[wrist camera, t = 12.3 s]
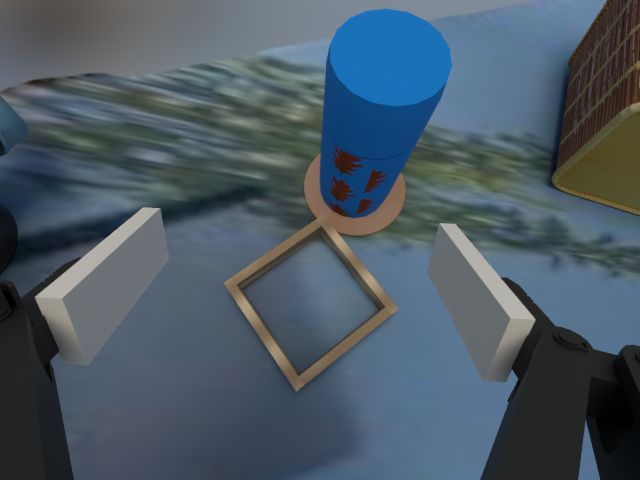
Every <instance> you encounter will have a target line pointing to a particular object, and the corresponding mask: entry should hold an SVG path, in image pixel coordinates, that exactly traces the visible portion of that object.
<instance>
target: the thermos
mask: <svg viewBox="0 0 640 480" xmlns="http://www.w3.org/2000/svg"><path fill="white" fill-rule="evenodd" d="M451 67H452V62H451V55H450V48H449V47H448V45H447V43H446V42H445V40H444V38H443V37H442V35H441V33H440V32H439V31H438V30H436V29H435V28H434V27H433V26H432V25H430V24H429V23H428V22H427V21H426V20H424V19H421V18H419V17H417V16H414V15H413V14H410V13H408V12H404V11H397V10H391V9H381V10H371V11H366V12H364V13H361V14H359V15H356V16H354V17H351V18H350V19H349V20H347V22H345V23H344V24H343V25H342V26H341V27H340V28H338V29H337V31H336V33H335V35H334V37H333V40H332V42H331V44H330V48H329V52H328V57H327V62H326V78H325V94H324V110H323V126H322V142H321V158H320V192H321V195H322V197H323V200H324V202H325V203H326V204H327V205H328V207H329V208H330V209H331V210H332V211H334V212H336V213H338V214H339V215H341V216H345V217H350V218H359V217H365V216H367V215H369V214H371V213H373V212H375V211H376V210H377V209H378V208H379V206H380V205H381V204H382V203H383V202H384V200H385V199H386V197H387V196H388V194H389V193H390V191H391V189H392V187H393V186H394V184H395V182H396V180H397V178H398V176H399V175H400V173H401V171H402V169H403V167H404V165H405V163H406V162H407V160H408V158H409V156H410V154H411V152H412V150H413V149H414V147H415V145H416V143H417V141H418V139H419V138H420V136H421V134H422V132H423V130H424V128H425V126H426V125H427V123H428V121H429V119H430V117H431V115H432V114H433V112H434V110H435V108H436V106H437V104H438V102H439V101H440V99H441V97H442V94H443V91H444V88H445V85H446V83H447V80H448V76H449V73H450V70H451Z"/></svg>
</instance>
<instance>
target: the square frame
mask: <svg viewBox="0 0 640 480" xmlns="http://www.w3.org/2000/svg"><path fill="white" fill-rule="evenodd" d="M319 235H321V236H322V237H323V238H324V240H325V241H326V242H327V243H328V245H329V246H330V247H331V249H332V250H333V251H334V252H335V254H336V255H337V256H338V258H339V259H340V260H341V261H342V263H343V264H344V265H345V267H346V268H347V269H348V270H349V272H350V273H351V274H352V275H353V277H354V278H355V279H356V281H357V282H358V283H359V284H360V286H361V287H362V288H363V290H364V291H365V292H366V293H367V295H368V296H369V297H370V299H371V300H372V301H373V302H374V304H375V305H376V306H377V307H378V309H379V311H378V312H377V313H375V314H374V315H373V316H371V317H370V318H369V319H368V320H366V321H365V322H364V323H363V324H361V325H360V326H359V327H358V328H356V329H355V330H354V331H353V332H351V333H350V334H349V335H348V336H346V337H345V338H344V339H343V340H341V341H340V342H339V343H338V344H336V345H335V346H334V347H332V348H331V349H330V350H329V351H327V352H326V353H325V354H324V355H322V356H321V357H320V358H319V359H317V360H316V361H315V362H314V363H312V364H311V365H310V366H309V367H307V368H306V369H305V370H304V371H302V372H301V373H300V374H299V372H298V371H297V369H296V368H295V366H294V365H293V363H292V362H291V360H290V359H289V357H288V356H287V355H286V353H285V352H284V350H283V349H282V347H281V346H280V344H279V343H278V341H277V340H276V338H275V337H274V335H273V334H272V333H271V331H270V330H269V328H268V327H267V325H266V324H265V322H264V321H263V319H262V318H261V316H260V315H259V313H258V312H257V311H256V309H255V308H254V306H253V305H252V303H251V302H250V300H249V299H248V297H247V296H246V294H245V293H244V291H243V290H242V289H244V288H245V287H247V286H248V285H250V284H251V283H252V282H254V281H255V280H257V279H258V278H260V277H261V276H262V275H264V274H265V273H267V272H268V271H269V270H271V269H272V268H274V267H275V266H277V265H278V264H279V263H281V262H282V261H284V260H285V259H287V258H288V257H289V256H291V255H292V254H294V253H295V252H297V251H298V250H299V249H301V248H302V247H304V246H305V245H306V244H308V243H309V242H311V241H312V240H314V239H315V238H316V237H318V236H319ZM224 284H225V286H226V287H227V289H228V290H229V292H230V293H231V295H232V296H233V298H234V299H235V301H236V302H237V304H238V305H239V307H240V308H241V310H242V311H243V313H244V314H245V316H246V317H247V319H248V320H249V322H250V323H251V325H252V326H253V328H254V329H255V331H256V332H257V334H258V335H259V337H260V338H261V340H262V341H263V343H264V344H265V346H266V347H267V349H268V350H269V352H270V353H271V355H272V356H273V358H274V359H275V361H276V362H277V364H278V365H279V367H280V368H281V370H282V371H283V373H284V374H285V376H286V377H287V379H288V380H289V382H290V383H291V385H292V386H293V387H294V389H295V390H296V392H297V391H298V390H299V389H300V388H302V387H303V386H304V385H305V384H306V383H308V382H309V381H310V380H311V379H313V378H314V377H315V376H316V375H318V374H319V373H320V372H321V371H323V370H324V369H325V368H326V367H328V366H329V365H330V364H331V363H333V362H334V361H335V360H336V359H337V358H339V357H340V356H341V355H342V354H344V353H345V352H346V351H347V350H349V349H350V348H351V347H352V346H354V345H355V344H356V343H357V342H359V341H360V340H361V339H362V338H364V337H365V336H366V335H367V334H368V333H370V332H371V331H372V330H373V329H375V328H376V327H377V326H378V325H380V324H381V323H382V322H383V321H385V320H386V319H387V318H388V317H390V316H391V315H392V314H393V313H395V312H396V311H397V310H398V308H397V306H396V305H395V304H394V303H393V301H392V300H391V299H390V298H389V296H388V295H387V294H386V293H385V291H384V290H383V289H382V288H381V286H380V285H379V284H378V283H377V281H376V280H375V279H374V278H373V276H372V275H371V274H370V273H369V271H368V270H367V269H366V268H365V266H364V265H363V264H362V263H361V261H360V260H359V259H358V258H357V256H356V255H355V254H354V253H353V251H352V250H351V249H350V248H349V246H348V245H347V244H346V243H345V241H344V240H343V239H342V238H341V236H340V235H339V234H338V233H337V231H336V230H335V229H334V228H333V226H332V225H331V224H330V222H329V221H328V220H327V219H326V217H325V216H324V215H322V216H320V217H319V218H317V219H316V220H315V221H313V222H312V223H310V224H309V225H307V226H306V227H304V228H303V229H301V230H300V231H299V232H297V233H296V234H294V235H293V236H291V237H290V238H288V239H287V240H285V241H284V242H283V243H281V244H280V245H278V246H277V247H275V248H274V249H272V250H271V251H270V252H268V253H267V254H265V255H264V256H262V257H261V258H259V259H258V260H256V261H255V262H254V263H252V264H251V265H249V266H248V267H246V268H245V269H243V270H242V271H240V272H239V273H238V274H236V275H235V276H233V277H232V278H230V279H229V280H227V281H226V282H224Z"/></svg>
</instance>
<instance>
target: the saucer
mask: <svg viewBox="0 0 640 480" xmlns="http://www.w3.org/2000/svg"><path fill="white" fill-rule="evenodd" d="M320 158H321V153H320V154H319V155H318V156H317V157H316V158H315V159H314V160H313V162H312V163H311V165H310V166H309V168H308V170H307V173H306V176H305V182H304V193H305V199H306V202H307V205H308V207H309V209H310V211H311V212H312V214H313V215H314V216H315V218H316V219H317V218H319V217H320V216H322V215H324V216H325V217H326V219H327V220H328V221H329V222H330V224H331V225H332V226H333V228H334V229H335V230H336V231H337V233H340V234H343V235H348V236H365V235H370V234H373V233H376V232H378V231H381V230H382V229H384V228H386V227H387V226H388V225H389V224H391V223H392V222H393V221H394V219H395V218H396V217H397V216H398V214H399V213H400V211H401V209H402V207H403V204H404V201H405V194H406V187H405V181H404V178H403V175H402V173H400V175H399V176H398V178H397V180H396V182H395V184H394V186H393V187H392V189H391V191H390V193H389V194H388V196H387V197H386V199H385V200H384V202H383V203H382V204H381V205H380V206H379V208H378V209H377V210H376V211H375V212H373V213H371V214H369V215H367V216H365V217H359V218H350V217H345V216H341V215H339V214H338V213H336V212H334V211H332V210H331V209H330V208H329V207H328V205H327V204H326V203H325V202H324V200H323V197H322V195H321V192H320Z"/></svg>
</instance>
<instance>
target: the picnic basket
mask: <svg viewBox="0 0 640 480" xmlns="http://www.w3.org/2000/svg"><path fill="white" fill-rule="evenodd" d="M568 68H569V72H570V74H569V81H568V88H567V95H566V102H565V110H564V117H563V124H562V131H561V138H560V145H559V152H558V159H557V166H556V172H555V173H554V174H553V176H552V178H551V180H552V183H553V185H554V186H555V187H556V188H558V189H559V190H562V191H564V192H566V193H569V194H572V195H576V196H579V197H582V198H585V199H589V200H592V201H595V202H598V203H601V204H605V205H608V206H611V207H614V208H618V209H621V210H624V211H627V212H630V213H634V214H637V215H640V0H607V1H606V3H605V4H604V6H603V8H602V9H601V11H600V12H599V14H598V15H597V17H596V18H595V20H594V22H593V23H592V25H591V26H590V28H589V29H588V31H587V32H586V34H585V36H584V37H583V39H582V40H581V42H580V43H579V45H578V46H577V48H576V50H575V51H574V53H573V54H572V56H571V57H570V59H569V62H568Z"/></svg>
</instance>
